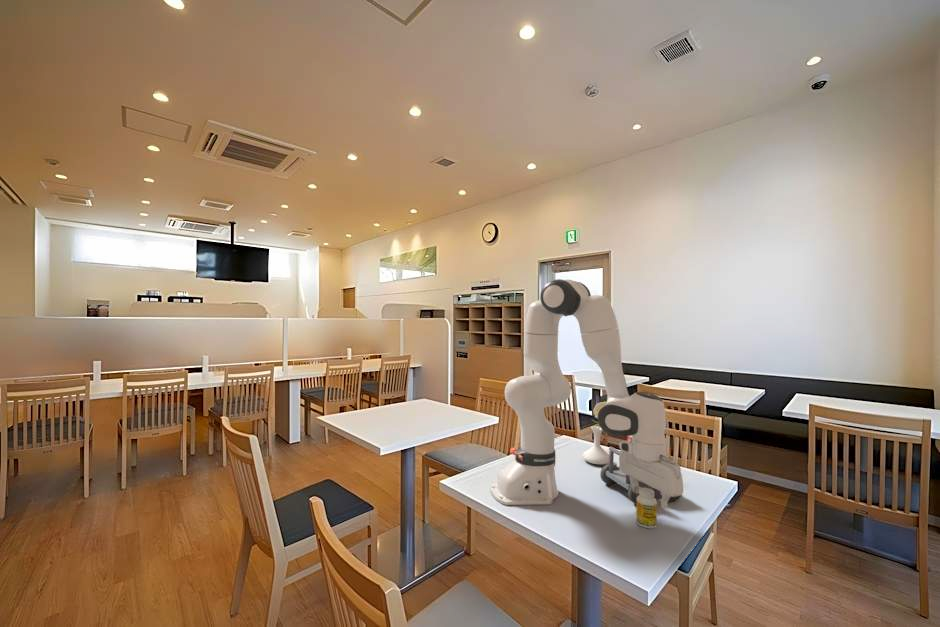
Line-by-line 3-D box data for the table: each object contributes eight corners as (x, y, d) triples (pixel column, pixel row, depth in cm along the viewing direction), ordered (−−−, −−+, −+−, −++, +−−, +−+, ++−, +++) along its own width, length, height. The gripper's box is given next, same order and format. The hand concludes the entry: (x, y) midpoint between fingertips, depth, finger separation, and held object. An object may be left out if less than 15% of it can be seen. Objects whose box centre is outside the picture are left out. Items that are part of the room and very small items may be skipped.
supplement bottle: (650, 519, 115) (651, 486, 115) (660, 529, 110) (661, 494, 110) (632, 519, 115) (633, 486, 115) (641, 529, 110) (642, 494, 110)
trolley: (631, 507, 122) (632, 460, 122) (600, 484, 139) (600, 443, 139) (682, 500, 127) (683, 456, 127) (646, 479, 144) (646, 440, 144)
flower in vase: (576, 461, 161) (577, 399, 161) (591, 454, 168) (592, 396, 168) (606, 471, 151) (607, 405, 151) (620, 463, 159) (622, 401, 159)
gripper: (688, 460, 104) (689, 514, 103) (631, 439, 123) (631, 484, 123) (670, 463, 102) (671, 518, 101) (615, 441, 121) (615, 487, 120)
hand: (649, 499), depth 112 cm, fingers open, 8 cm apart
